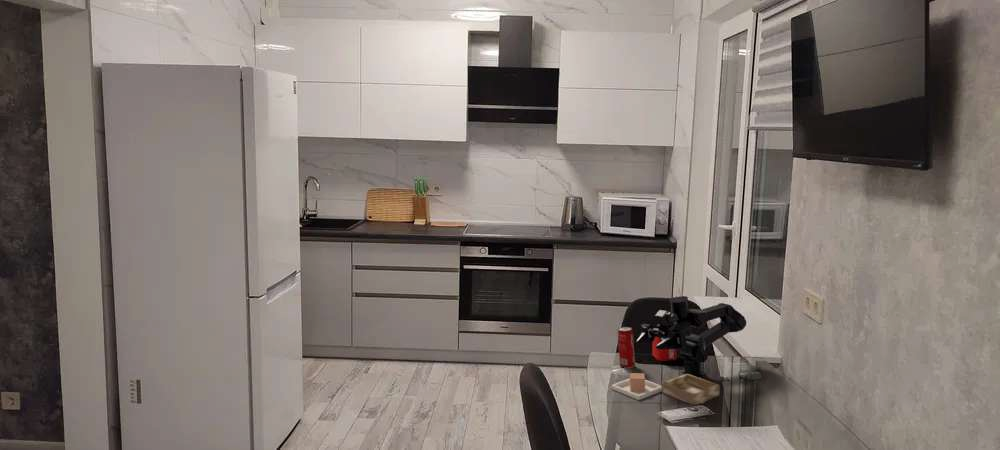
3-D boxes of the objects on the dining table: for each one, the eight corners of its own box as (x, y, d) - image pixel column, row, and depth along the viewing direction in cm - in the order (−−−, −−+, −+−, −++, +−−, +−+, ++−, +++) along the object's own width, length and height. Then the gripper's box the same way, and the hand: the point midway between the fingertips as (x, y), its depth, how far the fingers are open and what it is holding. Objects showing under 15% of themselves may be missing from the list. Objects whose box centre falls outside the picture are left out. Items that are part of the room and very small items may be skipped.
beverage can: (634, 369, 260) (635, 331, 257) (617, 368, 261) (617, 330, 259) (635, 363, 265) (635, 326, 263) (618, 363, 267) (618, 325, 264)
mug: (658, 361, 267) (658, 335, 265) (650, 354, 275) (650, 329, 273) (687, 359, 269) (688, 332, 267) (678, 352, 277) (679, 326, 275)
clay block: (629, 386, 242) (629, 373, 241) (644, 386, 241) (644, 373, 240) (630, 392, 237) (630, 378, 236) (645, 392, 236) (645, 378, 236)
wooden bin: (686, 384, 244) (686, 373, 243) (719, 396, 233) (719, 384, 233) (661, 394, 236) (661, 383, 235) (693, 406, 225) (694, 395, 225)
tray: (635, 381, 248) (635, 376, 248) (663, 391, 238) (663, 386, 238) (611, 390, 241) (611, 385, 240) (638, 401, 231) (638, 396, 230)
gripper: (652, 304, 250) (622, 319, 242) (693, 310, 235) (662, 327, 226) (657, 332, 252) (628, 349, 244) (698, 340, 237) (668, 358, 228)
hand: (646, 345), depth 235 cm, fingers open, 9 cm apart
